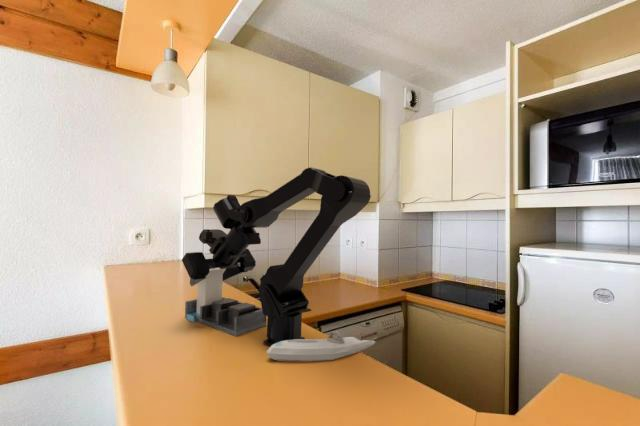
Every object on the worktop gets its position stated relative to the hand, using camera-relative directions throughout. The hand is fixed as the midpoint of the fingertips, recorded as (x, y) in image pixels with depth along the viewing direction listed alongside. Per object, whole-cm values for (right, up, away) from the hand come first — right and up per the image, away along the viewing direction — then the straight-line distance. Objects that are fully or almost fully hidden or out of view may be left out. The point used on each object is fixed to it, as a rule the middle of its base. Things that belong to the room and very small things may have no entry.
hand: (207, 282), depth 83 cm
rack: (+6, -9, -5) cm, 12 cm away
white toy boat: (+30, -10, -21) cm, 38 cm away
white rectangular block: (+1, -8, -1) cm, 8 cm away
